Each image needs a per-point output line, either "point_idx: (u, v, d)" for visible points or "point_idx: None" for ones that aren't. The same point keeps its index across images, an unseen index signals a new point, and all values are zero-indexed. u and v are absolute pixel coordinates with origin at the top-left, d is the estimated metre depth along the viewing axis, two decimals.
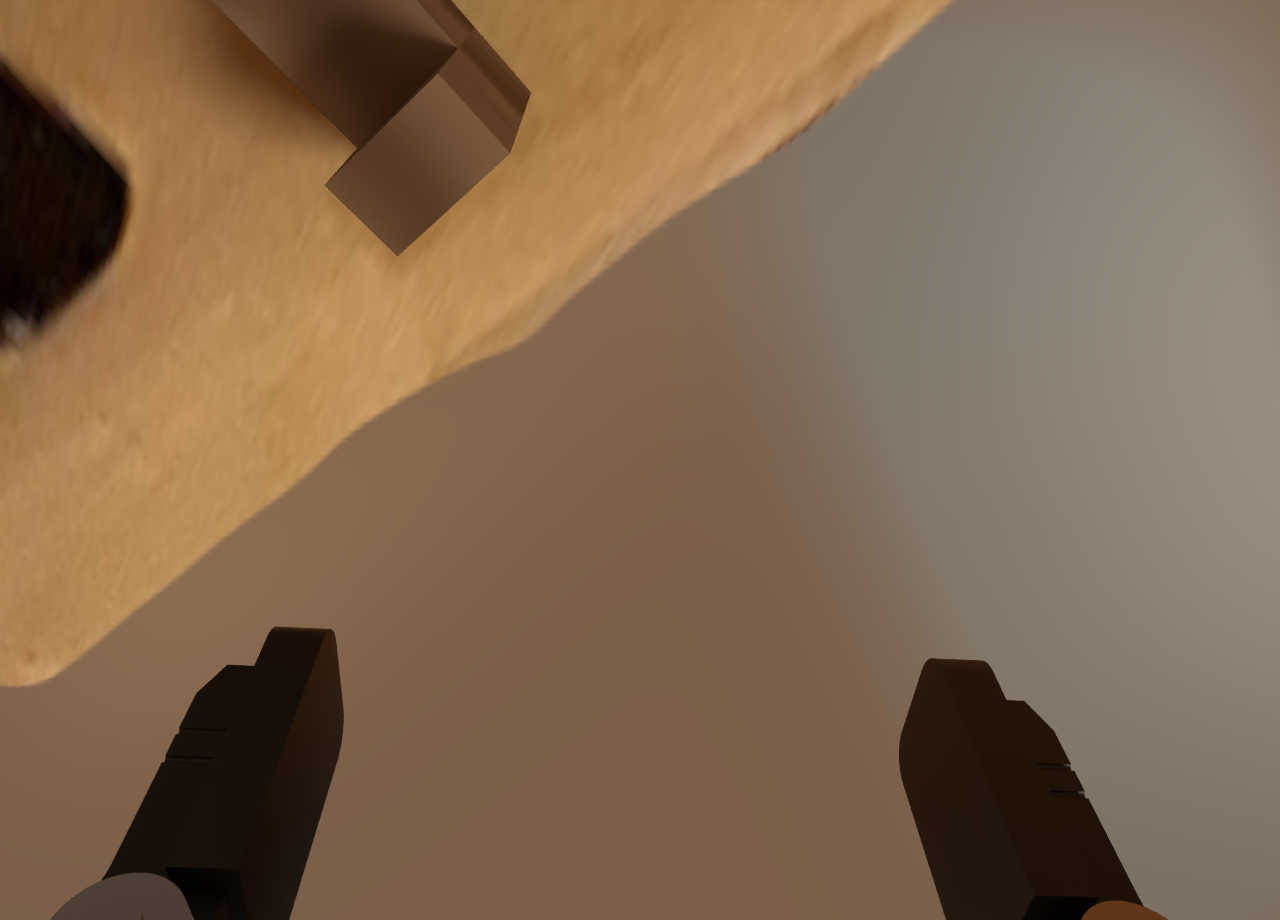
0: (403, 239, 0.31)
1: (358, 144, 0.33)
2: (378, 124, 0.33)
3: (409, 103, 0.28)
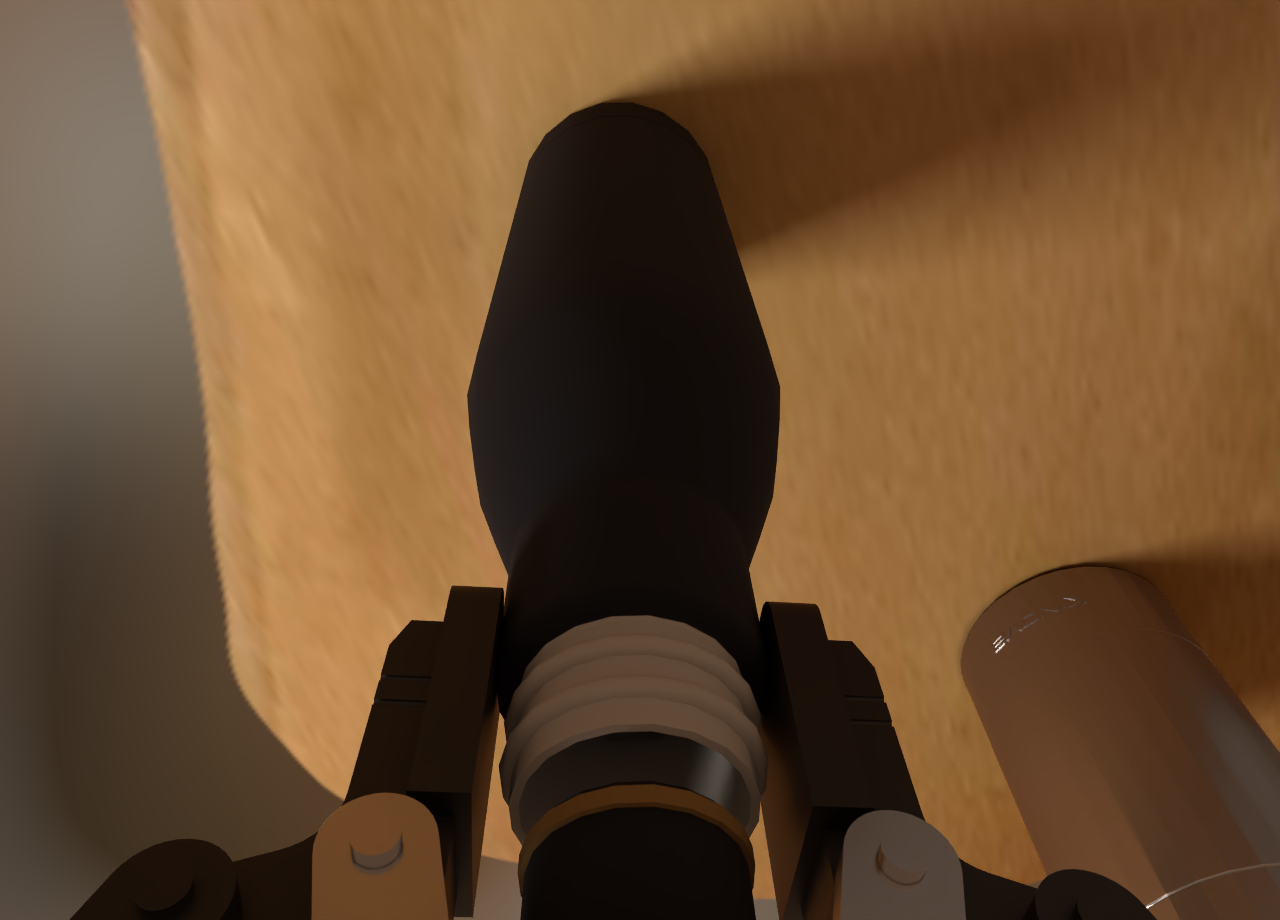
0: None
1: None
2: None
3: None
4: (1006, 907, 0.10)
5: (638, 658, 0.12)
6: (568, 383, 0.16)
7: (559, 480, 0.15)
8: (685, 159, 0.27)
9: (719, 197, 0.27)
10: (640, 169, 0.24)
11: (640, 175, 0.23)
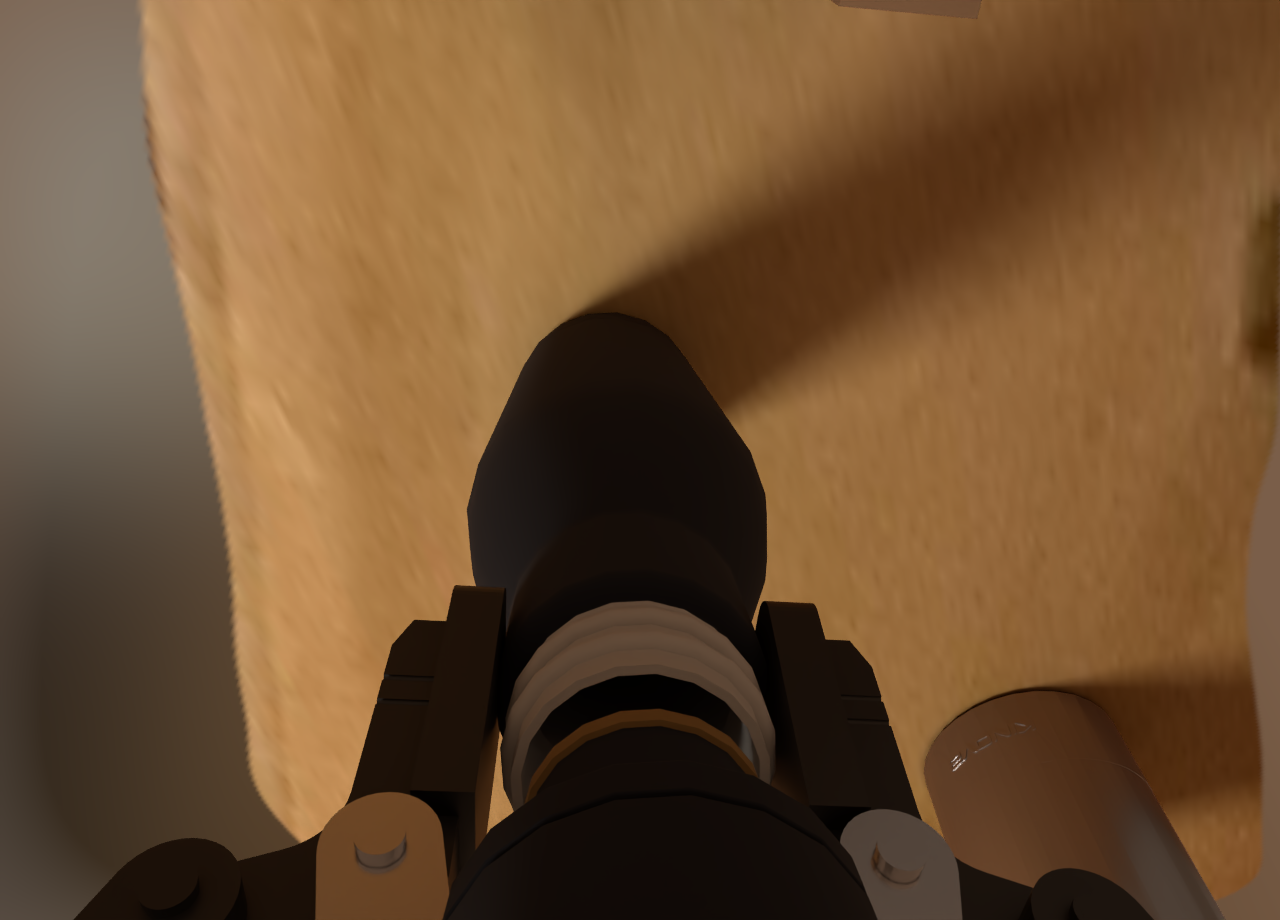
0: None
1: None
2: None
3: None
4: (1003, 906, 0.10)
5: (640, 625, 0.12)
6: (565, 454, 0.17)
7: (558, 525, 0.15)
8: (666, 344, 0.29)
9: None
10: (626, 338, 0.26)
11: (626, 341, 0.26)
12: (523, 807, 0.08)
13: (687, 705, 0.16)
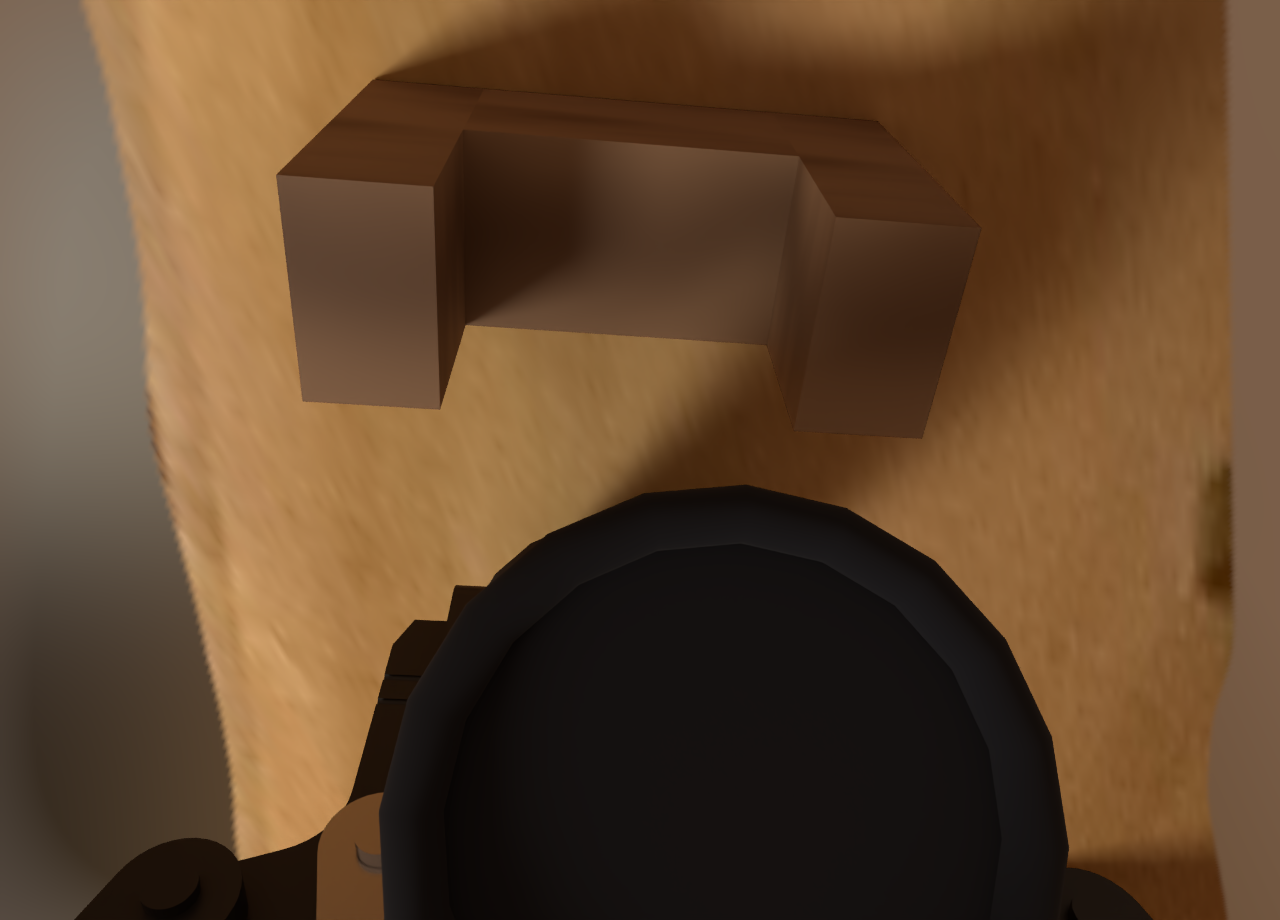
0: (293, 203, 0.19)
1: (465, 134, 0.23)
2: (465, 179, 0.23)
3: (436, 359, 0.21)
4: None
5: None
6: None
7: None
8: None
9: None
10: None
11: None
12: None
13: None
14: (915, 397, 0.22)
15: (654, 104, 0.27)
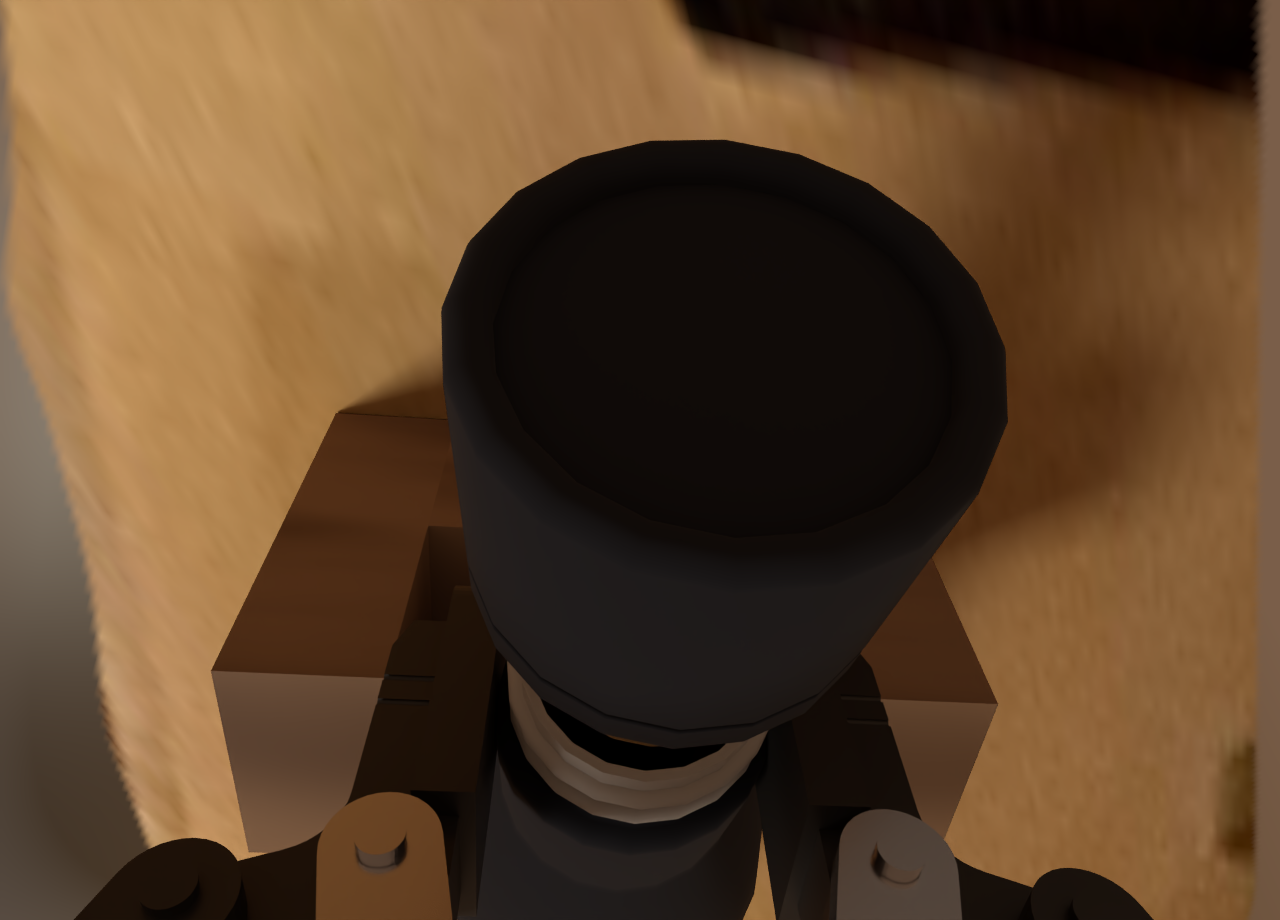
0: (231, 693, 0.17)
1: (430, 529, 0.21)
2: (432, 568, 0.21)
3: None
4: (1002, 906, 0.10)
5: None
6: None
7: None
8: None
9: None
10: None
11: None
12: None
13: None
14: None
15: None
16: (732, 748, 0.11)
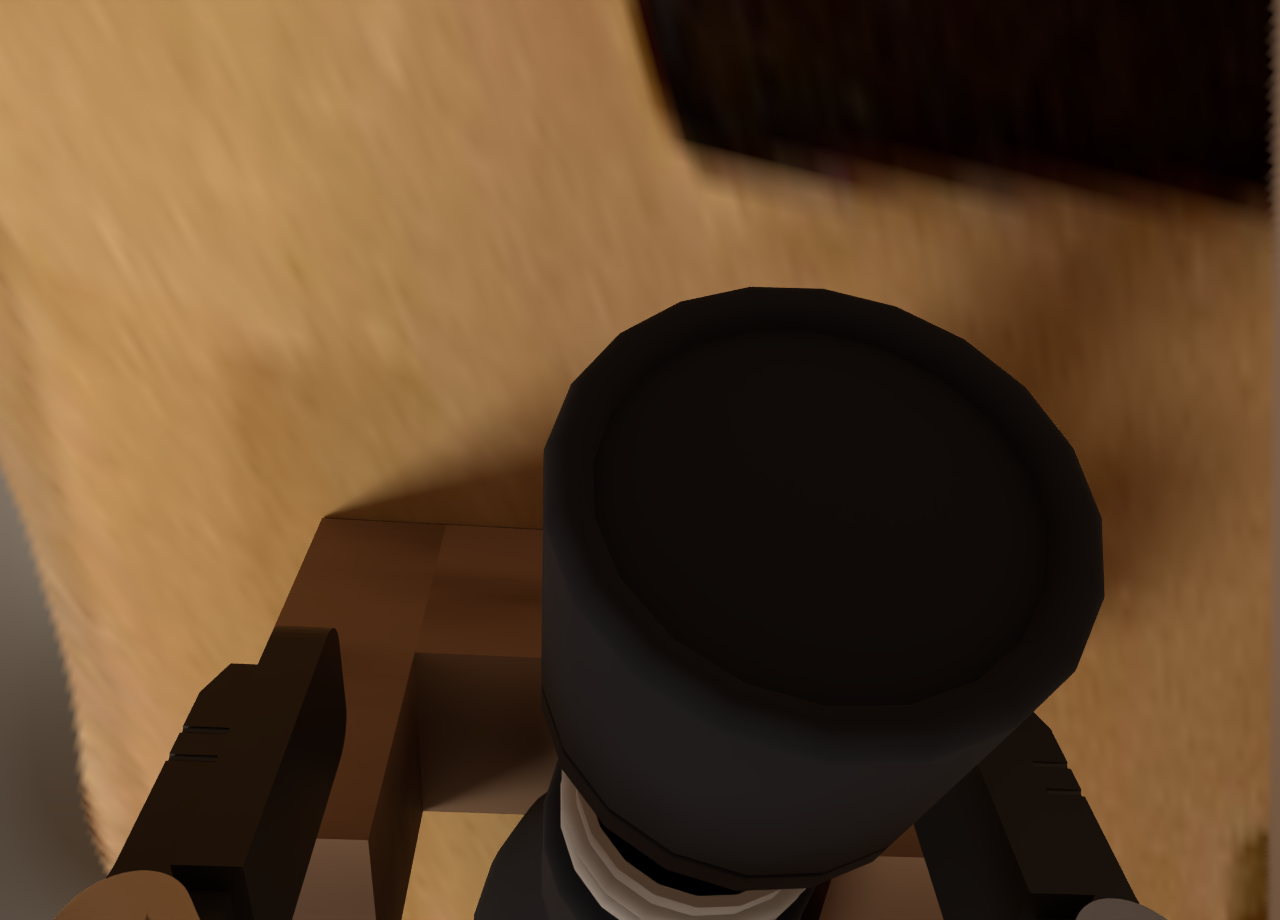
0: None
1: (417, 655, 0.20)
2: (419, 693, 0.21)
3: None
4: None
5: None
6: None
7: None
8: None
9: None
10: None
11: None
12: None
13: None
14: None
15: None
16: None
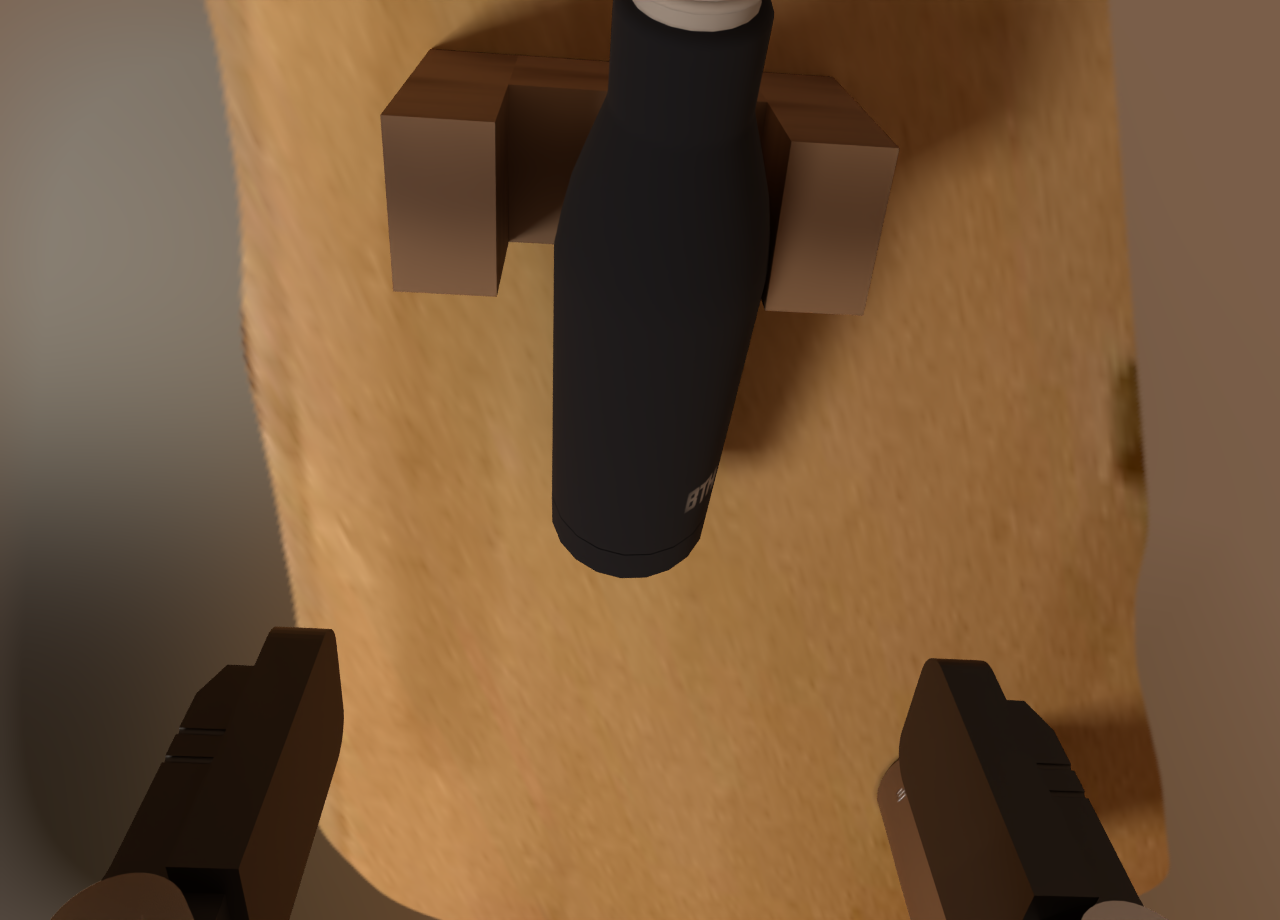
0: (391, 136, 0.26)
1: (510, 88, 0.29)
2: (510, 123, 0.30)
3: (494, 256, 0.28)
4: None
5: None
6: None
7: None
8: None
9: None
10: None
11: None
12: None
13: None
14: (856, 282, 0.29)
15: None
16: None
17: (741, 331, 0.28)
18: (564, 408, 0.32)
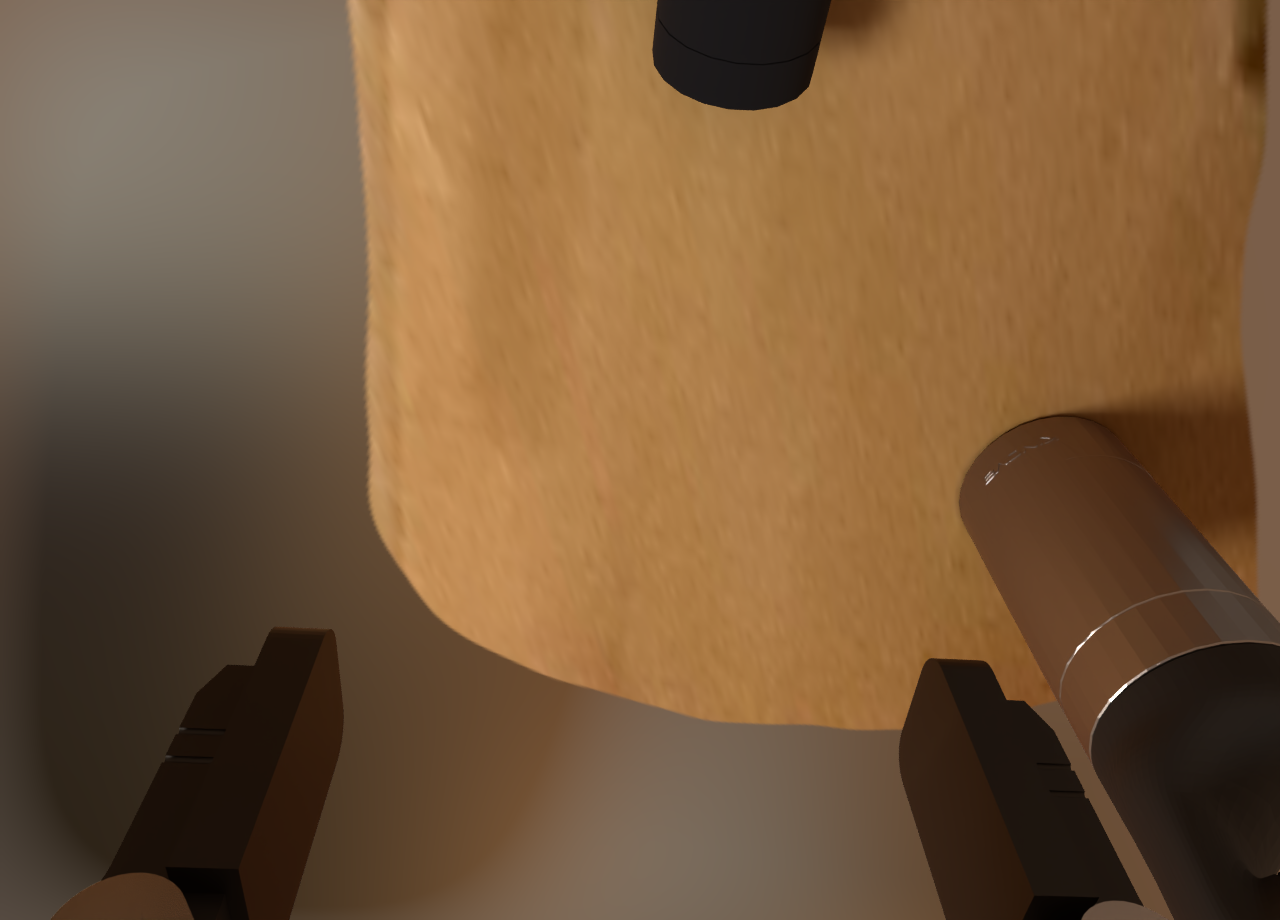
0: None
1: None
2: None
3: None
4: None
5: None
6: None
7: None
8: None
9: None
10: None
11: None
12: None
13: None
14: None
15: None
16: None
17: None
18: None
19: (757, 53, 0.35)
